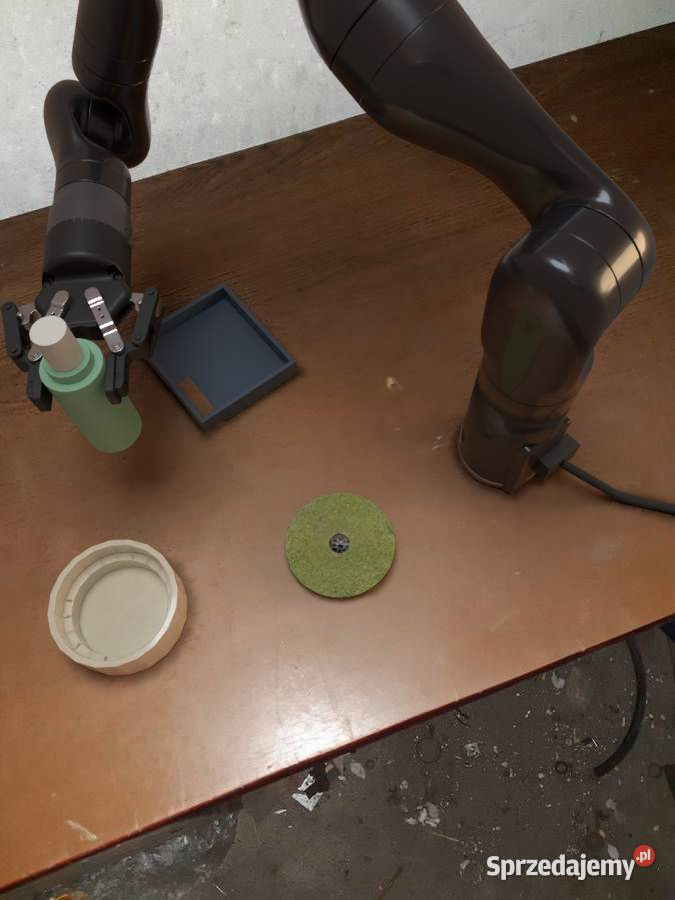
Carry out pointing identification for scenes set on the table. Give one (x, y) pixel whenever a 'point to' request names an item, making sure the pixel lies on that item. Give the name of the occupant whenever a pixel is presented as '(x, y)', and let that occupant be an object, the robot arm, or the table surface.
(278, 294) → the table surface
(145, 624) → the bowl
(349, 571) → the mat
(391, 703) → the table surface
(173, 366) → the tray
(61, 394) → the bottle
